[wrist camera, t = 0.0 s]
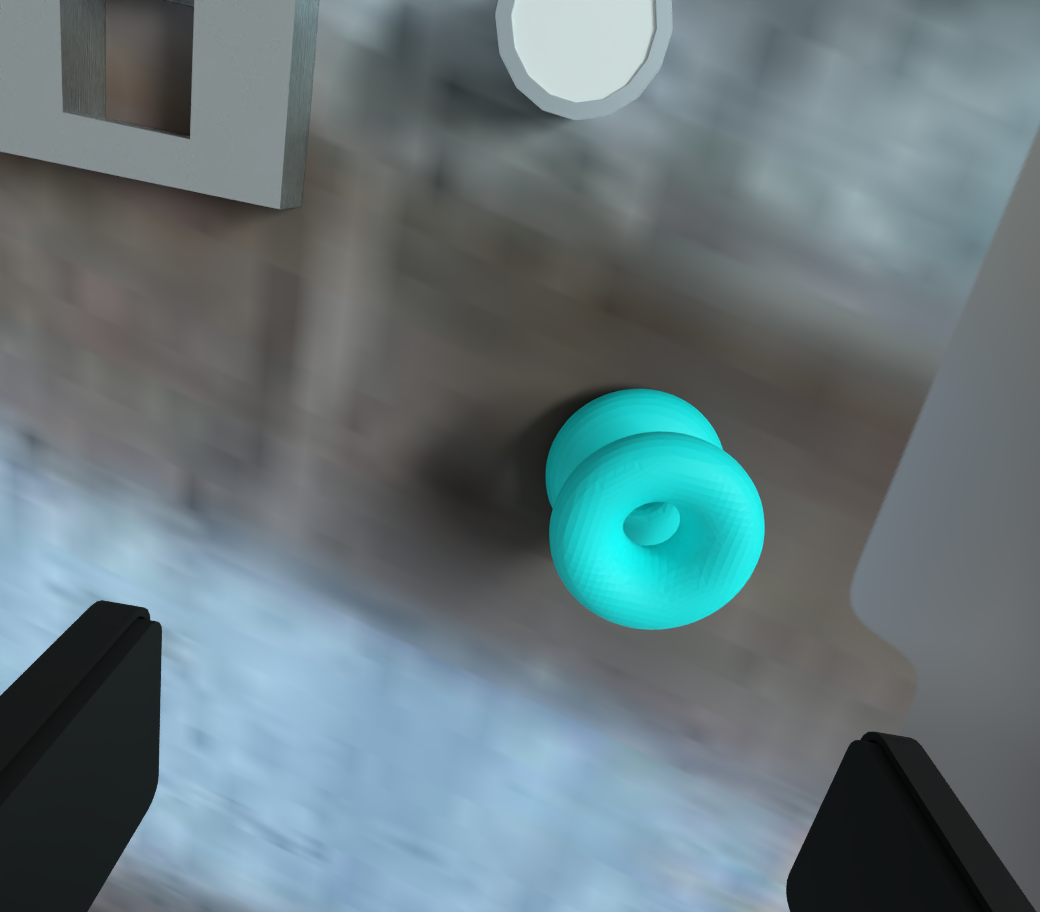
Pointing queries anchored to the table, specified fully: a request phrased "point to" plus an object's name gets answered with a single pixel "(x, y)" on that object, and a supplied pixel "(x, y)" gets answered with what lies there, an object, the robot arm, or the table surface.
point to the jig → (214, 98)
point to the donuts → (649, 511)
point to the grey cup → (583, 51)
